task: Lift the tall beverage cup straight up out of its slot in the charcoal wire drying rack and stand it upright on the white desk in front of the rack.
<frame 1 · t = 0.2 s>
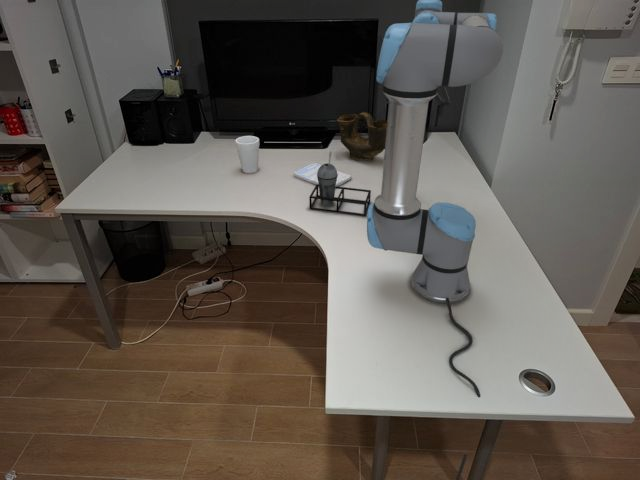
hand: (415, 123, 148), 28 cm above the table, tool pointing down, fingers open, 13 cm apart
foam cup: (250, 170, 185), on the table
rack: (340, 206, 159), on the table
beverage cup: (327, 204, 160), resting in rack
calculator: (322, 178, 178), on the table
pottery vessel: (361, 158, 195), on the table
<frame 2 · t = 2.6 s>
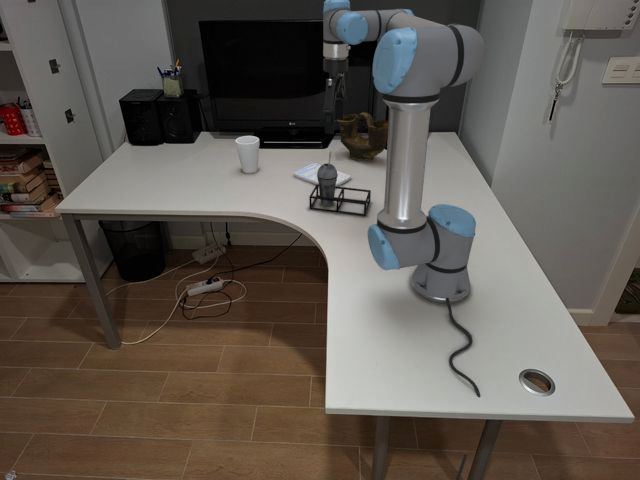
hand: (334, 126, 144), 29 cm above the table, tool pointing down, fingers open, 13 cm apart
nothing on the table moved.
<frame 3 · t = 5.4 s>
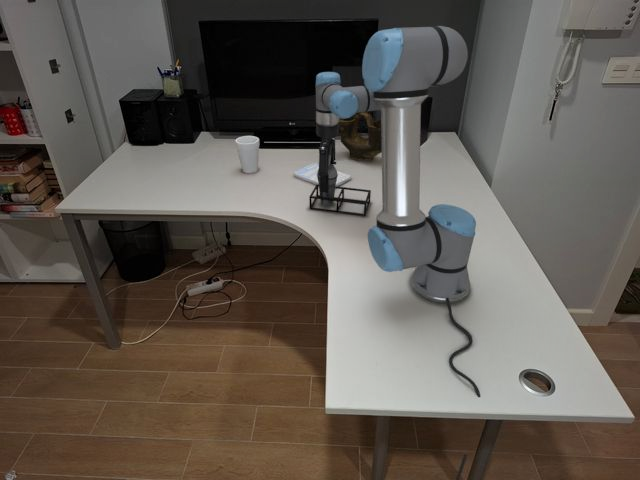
hand: (327, 186, 156), 7 cm above the table, tool pointing down, fingers closed on beverage cup, 7 cm apart
beverage cup: (327, 204, 160), resting in rack, touching gripper
everything else where it was.
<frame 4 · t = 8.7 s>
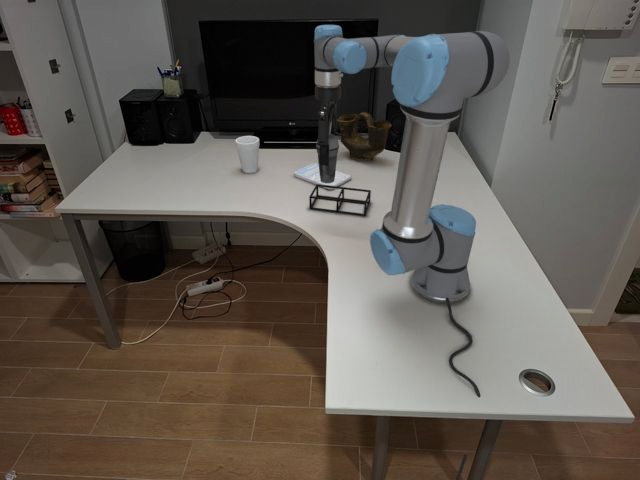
hand: (327, 159, 139), 22 cm above the table, tool pointing down, fingers closed on beverage cup, 7 cm apart
beverage cup: (327, 180, 143), point 14 cm above the table, touching gripper
everything else where it was.
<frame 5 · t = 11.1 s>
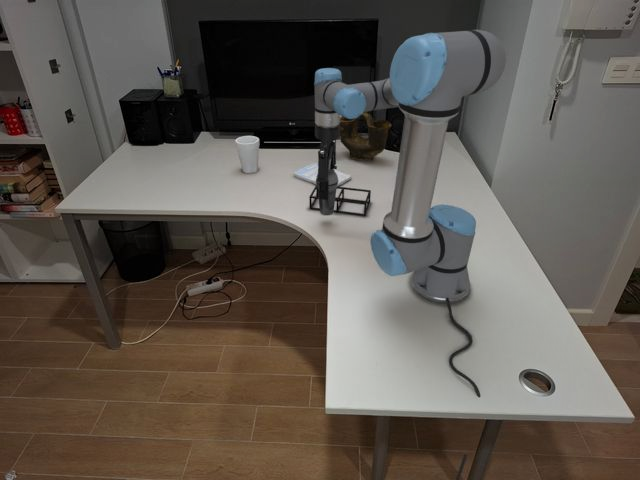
hand: (326, 193, 144), 11 cm above the table, tool pointing down, fingers closed on beverage cup, 7 cm apart
beverage cup: (326, 212, 148), point 4 cm above the table, touching gripper
everything else where it was.
when the fingers open (7 cm above the table, at t = 12.4 s): beverage cup stays where it is, on the table.
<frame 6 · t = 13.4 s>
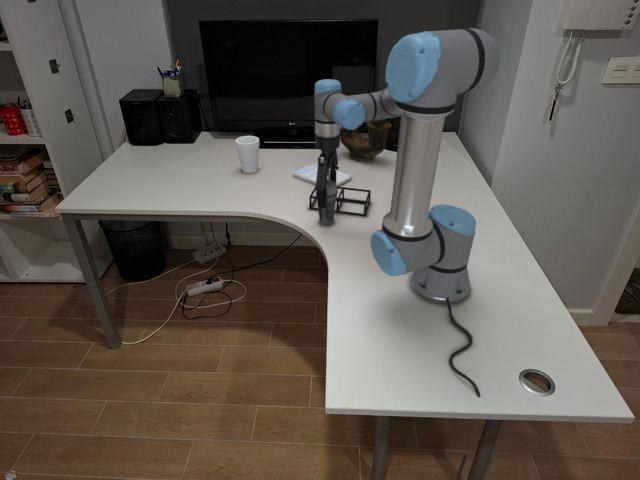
hand: (327, 197, 144), 9 cm above the table, tool pointing down, fingers open, 13 cm apart
beverage cup: (326, 222, 150), on the table
everything else where it was.
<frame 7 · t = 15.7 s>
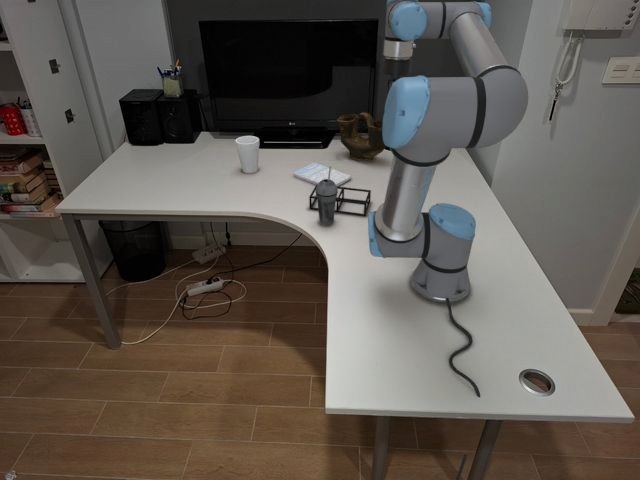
hand: (390, 136, 127), 32 cm above the table, tool pointing down, fingers open, 13 cm apart
nothing on the table moved.
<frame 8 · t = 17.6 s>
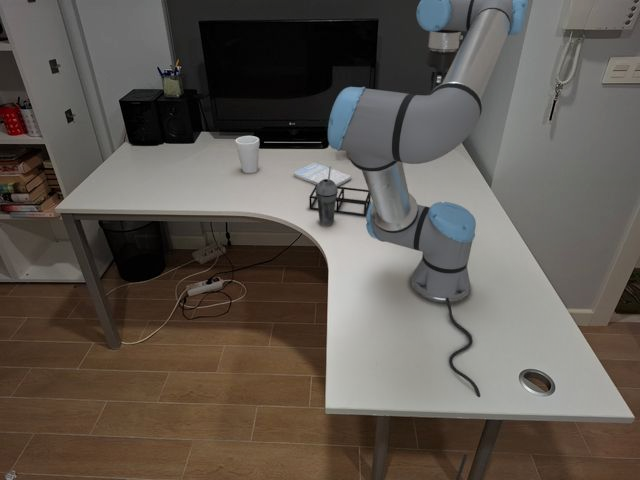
hand: (431, 131, 123), 35 cm above the table, tool pointing down, fingers open, 13 cm apart
nothing on the table moved.
at the end: beverage cup inside the target area (0.3 cm from its centre), on the table; beverage cup tilted 0°; the gripper is holding nothing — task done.
